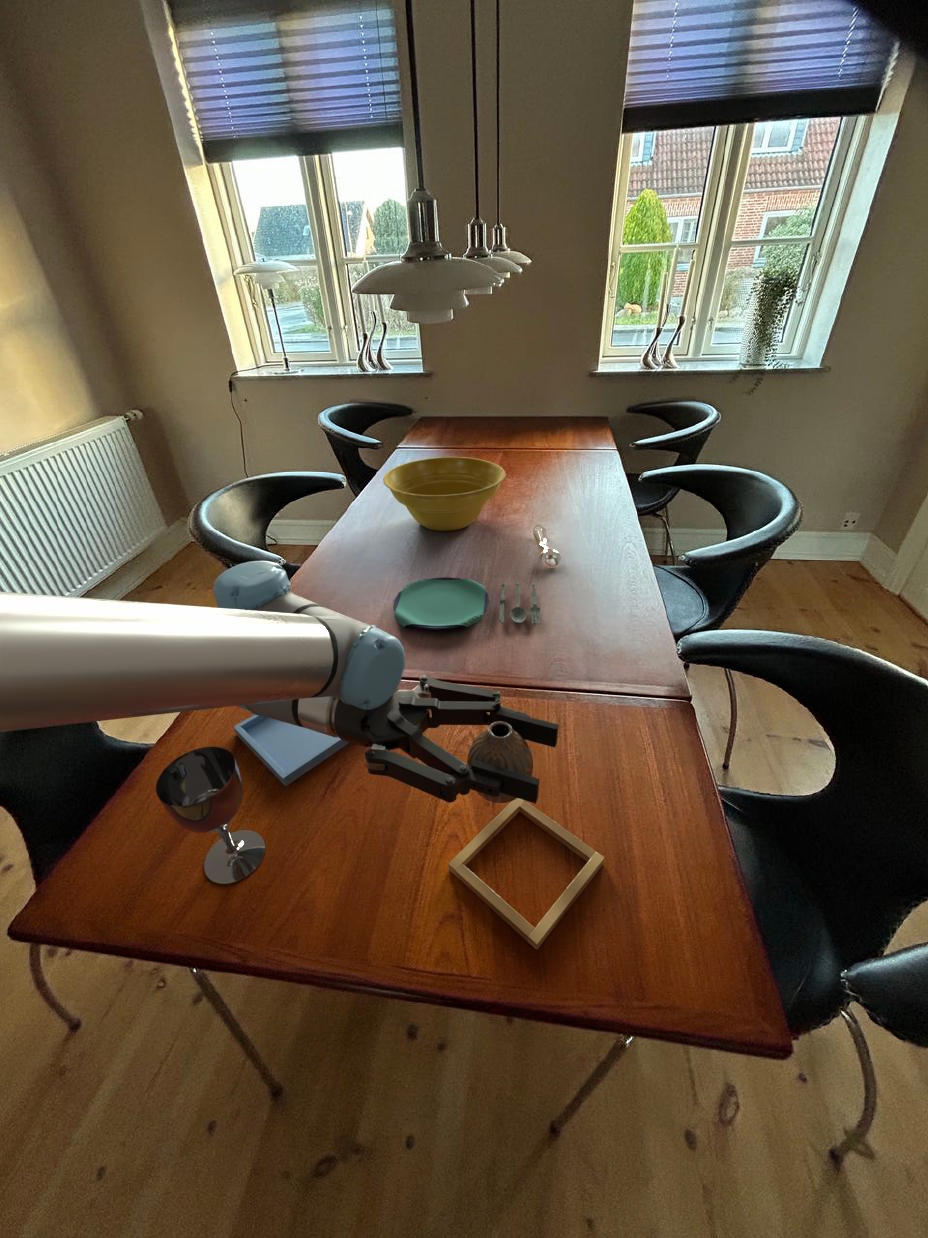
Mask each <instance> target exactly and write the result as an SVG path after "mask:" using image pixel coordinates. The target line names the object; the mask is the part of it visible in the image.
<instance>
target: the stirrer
mask: <svg viewBox="0 0 928 1238" xmlns="http://www.w3.org/2000/svg"><path fill="white" fill-rule="evenodd" d="M537 529H540V532H539V530H537ZM540 533H541V536H540ZM532 534H533V536H534V539H535V541H536V542H537V543H538V545H540V546H541V547H542V548H544V549H543V550H542V551H541V552H540V559H541V561H542V562H543V563H544V564H545V565H546V566H547V567H549V568H555V567H557V566H558V565H559V564H560V562H561V560H562V554H561V553H560V552H559V551H558V550H556V549H554V548H551V547H549V546H548V545H547V543H548V542H547V541H548V538H547V537H548V535H547V534H548V532H547V529H546V527H545V526H544V525H541V524H536V525H534V526H533V527H532ZM541 537H542V538H541Z"/></svg>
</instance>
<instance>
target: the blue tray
mask: <svg viewBox="0 0 928 1238" xmlns="http://www.w3.org/2000/svg"><path fill="white" fill-rule="evenodd" d="M232 728H233V730H234V733H235V735H236V736H237V737H238V738H239V739H240V740H241V742H242V743H243V744H245V745H246V747H247V748H248V749H249V750H250V751H251V752H252V753H253V754H254V755H255V756H256V757H257V758H258V759H259V760H260V762H262V764H263V765H264V766H265V767H266V768H267V769H268V770H269V771H270V772H271V773H272V774H273V775H274V776H275V777H276V778H277V779H278V780H279V781H280V782H281V784H282V785H283V786H284V787H287V786H289V785H290V784H292V783H293V782H294V781H296V780H297V779H299V778H300V777H302V776H303V775H304V774H306V773H307V772H309V771H310V770H313V768H315V767H316V766H318V765H319V764H321V763H322V762H324V761H325V760H326V759H328V758H330V757H331V756H332V755H335V753H337V752H338V751H340V750H341V749H343V748H344V747H345V746H347V745H349V744H350V742H347V741H344V740H341V739H340V738H339V737H332V736H328V735H325V734H322V733H319V732H315V731H312V730H309V729H306V728H303V727H299V726H296V725H292V724H289V723H285V722H282V721H279V720H275V719H272V718H268V717H265V716H259V715H256V714H253V715H252V716H250V717H248V718H246V719H244V720H242V721H240V722H239V723H237V724H236V725H234V726H233V727H232Z"/></svg>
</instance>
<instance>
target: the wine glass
mask: <svg viewBox="0 0 928 1238" xmlns="http://www.w3.org/2000/svg"><path fill="white" fill-rule="evenodd" d="M241 774H242V773H241V772H240V768H239V766H238V763H237V760H236V759H235V757H234V755H233V753H232V752H231V751H230V750H228V749H226V748H224V747H220V746H204V747H200V748H196V749H193V750H190V751H187V752H186V753H183V754H181V755H180V756H178V757H177V758H175V759H174V760H173V761H171V762H170V763H169V764H168V765H167V766H165V768H164V769H163V770H162V772H161V774H160V775H159V777H158V779H157V781H156V785H155V793H156V796H157V798H158V800H159V802H160V804H161V805H162V807H163V808H164V810H165V811H166V814H168V816H169V817H170V818H171V819H172V820H173V821H174V822H175V823H176V824H178V825H179V826H180V827H181V828H182V829H184V830H186V831H188V832H190V833H195V834H209V833H213V832H214V833H216V834H217V835H218V836H219V837H220V839H219V840H218V841H216V842H215V843H214V844H213V845H212V846H211V848H210V849H209V851H208V852H207V854H206V856H205V859H204V863H203V869H204V870H203V871H204V874H205V876H206V877H207V879H208V880H210V881H211V882H212V883H215V884H218V885H230V884H234V883H237V882H240V881H242V880H243V879H245V878H247V877H249V876H250V875H251V874H252V873H253V872H254V871H255V870H256V869H257V868H258V867H260V866H259V865H260V864H261V863H262V861H263V859H264V857H265V853H266V843H265V839H264V837H262V835H261V834H260V833H258V832H256V831H254V830H250V829H241V830H236V831H233V832H231V833H230V829H229V825H230V823H231V822H232V820H234V818H235V817H236V816H237V814H238V813H239V811H240V809H241V807H242V804H243V798H244V786H243V780H242V775H241Z"/></svg>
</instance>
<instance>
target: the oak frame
mask: <svg viewBox="0 0 928 1238" xmlns="http://www.w3.org/2000/svg"><path fill="white" fill-rule="evenodd" d="M519 813H520V814H521V815H523V816H524V817H525V818H526V819H528V820H530V821H531V822H532V823H533V824H535V825H536V826H537V827H539V828H540V829H541V830H543V831H544V832H546V833H547V834H548V835H549V836H551V837H552V838H553V839H554V840H556V841H558V842H559V843H560V844H562V845H563V846H564V847H566V848H567V849H569V850H570V851H571V852H572V853H574V854H575V855H576V856H578V857H579V858H581V859H582V860H584V861H585V862H586V864H585V865H584V866H583V867H582V868H581V869H580V871H579V872H578V873H577V874H576V876H575V877H574V878H573V880H572V881H570V883H569V885H567V887H566V889H564V891H563V892H562V893H561V895H560V896H559V897H558V899H556V901H555V902H554V904H553V905H552V906H551V907H550V909H548V911H547V912H546V913H545V914H544V916H543V917H542V918H541V919H540V921H539V922H538V924H537V925H536V926H533V925H532V924H531V923H530V922H529V921H528V920H527V919H525V918H524V917H523V916H522V915H521V914H520V913H519V912H518V911H517V910H515V909H514V908H513V907H512V906H511V905H509V903H507V902H506V901H505V900H504V899H503V897H502V898H501V896H500V895H498V893H496V892H495V891H494V890H493V889H492V888H491V887H489V886H488V885H487V884H486V883H485V882H484V881H483V880H482V879H480V878H479V876H477V875H476V874H475V873H474V872H472V871H471V870H470V869H469V868H468V867H467V866H468V864H469V863H470V862H471V861H472V860H473V859H474V858H475V857H476V856H477V855H478V854H479V853H480V852H481V851H482V850H483V849H484V848H485V847H486V846H487V845H488V844H489V843H490V842H491V841H492V840H493V839H494V838H495V837H496V836H497V835H498V834H499V833H500V832H501V831H502V830H503V829H504V828H505V827H506V826H507V825H508V824H509V823H510V822H511V820H513V819H514V818H515V817H516V816H517V815H518V814H519ZM604 863H605V856H603V855H602V854H600V853H599V852H597V851H596V850H595V849H593V848H592V847H590V846H589V845H587V844H586V843H585V842H583V841H582V840H581V839H579V838H578V837H576V835H574V834H572V833H571V832H570V831H568V830H567V829H566V828H564V827H563V826H561V825H560V824H559V823H558V822H556V821H554V820H553V819H551V817H549V816H547V815H546V814H545V813H543V812H541V810H539V809H537V808H536V807H535V806H534V805H532V804H531V803H530V802H529V801H526V800H522V799H519V798H517V799H515V800H513V801H510V802H509V804H508V805H506V806H505V808H503V810H501V812H499V814H498V815H496V816H495V817H494V819H492V820H491V821H490V822H489V823H488V824H487V825H486V826H485V827H484V828H483V829H482V830H481V831H480V832H479V833H478V834H477V835H476V836H475V837H474V838H473V839H472V840H471V841H470V842H469V843H468V844H467V845H466V846H465V847H464V848H463V849H462V850H460V852H458V854H457V855H455V857H454V858H452V859H451V861H450V862H448V863H447V869H448V871H449V872H450V873H452V874H453V875H454V876H455V877H456V878H457V879H458V880H459V881H460V882H461V883H463V884H464V885H465V886H466V887H467V888H468V889H469V890H470V891H471V892H472V893H473V894H475V895H476V896H477V897H478V898H479V899H480V900H481V901H482V902H483V903H484V904H486V905H487V906H488V907H489V908H490V909H491V910H492V911H493V912H494V913H495V914H496V915H497V916H498V917H499V918H501V920H503V921H504V922H505V923H506V924H508V926H510V927H511V928H512V929H513V930H514V932H516V933H517V934H518V935H519V936H520V937H522V938H523V939H524V940H525V941H526V942H527V943H528V944H529V945H530V946H531V947H532V948H534V949H535V950H538V949H539V948H540V947H541V945H542V944H543V943H544V942H545V940H546V939H547V937H548V936H549V935H550V934H551V932H552V931H553V930H554V929H555V928H556V926H557V925H558V924H559V922H560V921H561V920H562V918H563V917H564V916H565V914H566V913H567V912H568V910H569V909H570V908H571V907H572V905H573V904H574V903H575V901H576V900H577V899H578V897H579V896H580V895H581V894H582V892H583V891H584V890H585V888H586V887H587V886H588V885H589V884H590V882H591V881H592V879H593V878H594V877H595V876H596V874H597V873H598V872H599V870H600V869H601V868H602V867H603V865H604Z"/></svg>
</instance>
